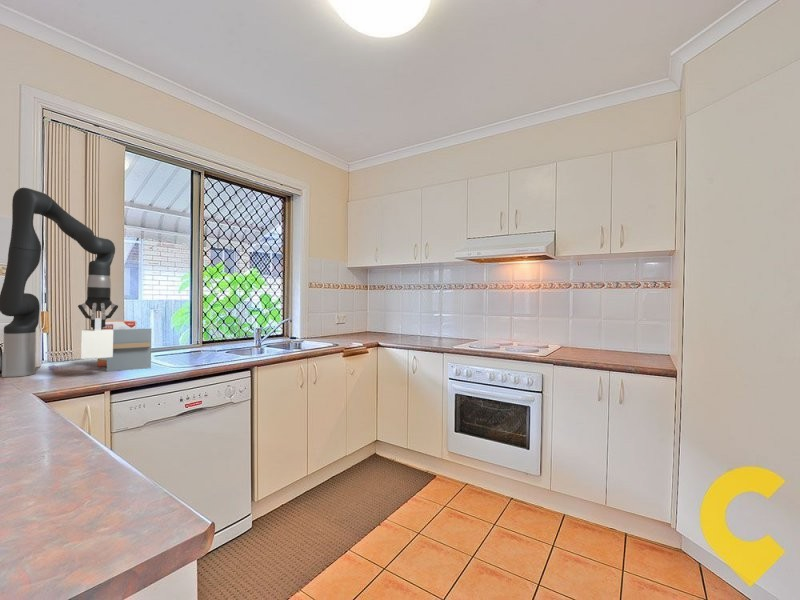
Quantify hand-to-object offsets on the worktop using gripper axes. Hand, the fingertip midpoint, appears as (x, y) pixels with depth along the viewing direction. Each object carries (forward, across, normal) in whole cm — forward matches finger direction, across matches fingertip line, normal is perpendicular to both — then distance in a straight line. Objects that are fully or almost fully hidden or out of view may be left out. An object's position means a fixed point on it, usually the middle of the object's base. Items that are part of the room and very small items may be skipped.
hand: (98, 328), depth 155 cm
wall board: (+19, +11, +9) cm, 24 cm away
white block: (+12, 0, +1) cm, 12 cm away
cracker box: (+20, +7, +24) cm, 32 cm away
